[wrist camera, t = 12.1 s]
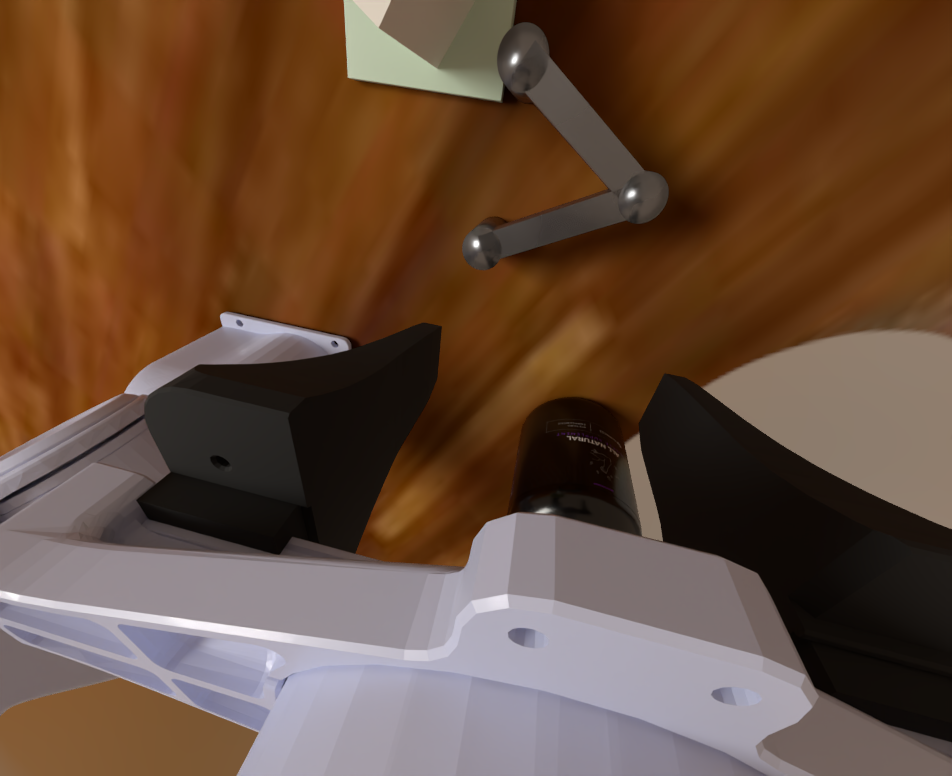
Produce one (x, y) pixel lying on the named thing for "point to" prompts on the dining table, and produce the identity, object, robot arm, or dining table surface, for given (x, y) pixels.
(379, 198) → the dining table surface
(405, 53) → the pad
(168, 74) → the dining table surface
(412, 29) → the block
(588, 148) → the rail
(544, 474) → the supplement bottle
